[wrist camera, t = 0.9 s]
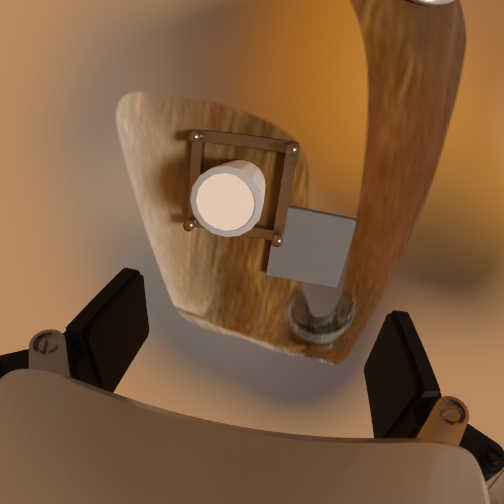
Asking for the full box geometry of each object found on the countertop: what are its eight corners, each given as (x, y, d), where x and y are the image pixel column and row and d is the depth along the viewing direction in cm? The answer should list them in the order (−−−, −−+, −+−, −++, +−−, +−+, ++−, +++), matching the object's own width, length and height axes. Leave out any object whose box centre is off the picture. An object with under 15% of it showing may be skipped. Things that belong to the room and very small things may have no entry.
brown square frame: (196, 129, 31) (187, 131, 29) (299, 142, 30) (298, 145, 28) (190, 222, 36) (182, 230, 34) (282, 238, 35) (281, 248, 33)
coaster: (278, 203, 34) (277, 205, 33) (355, 218, 33) (356, 220, 32) (266, 271, 38) (266, 274, 37) (336, 284, 37) (337, 287, 36)
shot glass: (210, 153, 32) (188, 164, 26) (272, 156, 31) (264, 168, 25) (211, 210, 35) (191, 234, 29) (269, 215, 34) (261, 241, 28)
